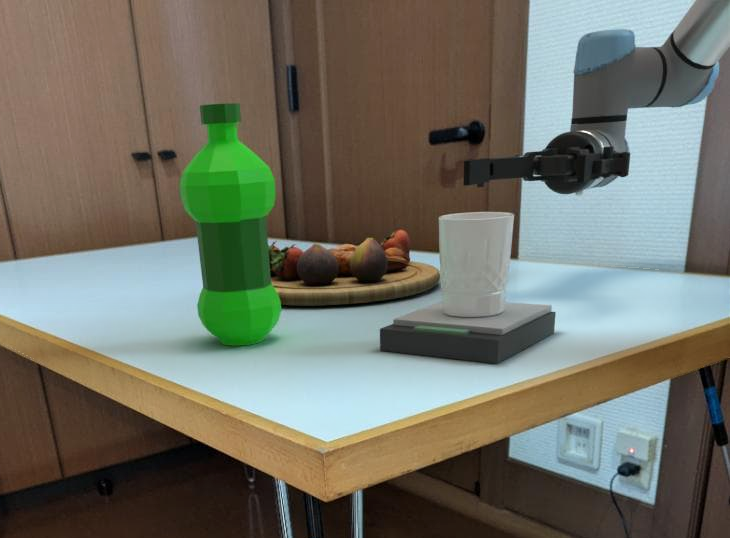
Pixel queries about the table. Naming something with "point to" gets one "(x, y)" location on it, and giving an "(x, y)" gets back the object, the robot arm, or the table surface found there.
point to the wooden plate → (349, 272)
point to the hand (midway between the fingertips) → (521, 171)
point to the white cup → (475, 262)
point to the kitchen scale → (469, 332)
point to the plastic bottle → (231, 231)
